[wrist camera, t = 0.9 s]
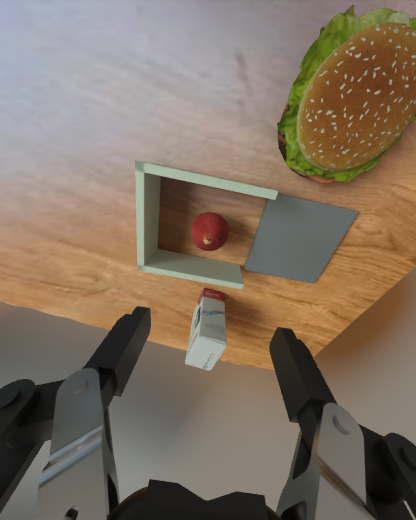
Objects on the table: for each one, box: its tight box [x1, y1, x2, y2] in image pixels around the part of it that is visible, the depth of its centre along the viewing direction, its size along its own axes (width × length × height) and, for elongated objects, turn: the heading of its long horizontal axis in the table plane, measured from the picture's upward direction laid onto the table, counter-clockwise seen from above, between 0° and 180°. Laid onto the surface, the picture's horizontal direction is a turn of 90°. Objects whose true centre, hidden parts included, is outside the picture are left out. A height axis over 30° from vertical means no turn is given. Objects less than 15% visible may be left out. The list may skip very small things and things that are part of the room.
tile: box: [244, 194, 359, 284], centre depth 28 cm, size 14×14×1 cm
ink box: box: [185, 288, 227, 370], centre depth 32 cm, size 9×5×12 cm, turn 161°
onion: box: [191, 212, 229, 251], centre depth 25 cm, size 6×6×8 cm
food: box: [277, 5, 416, 184], centre depth 17 cm, size 14×14×8 cm
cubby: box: [135, 161, 278, 289], centre depth 25 cm, size 17×15×6 cm
